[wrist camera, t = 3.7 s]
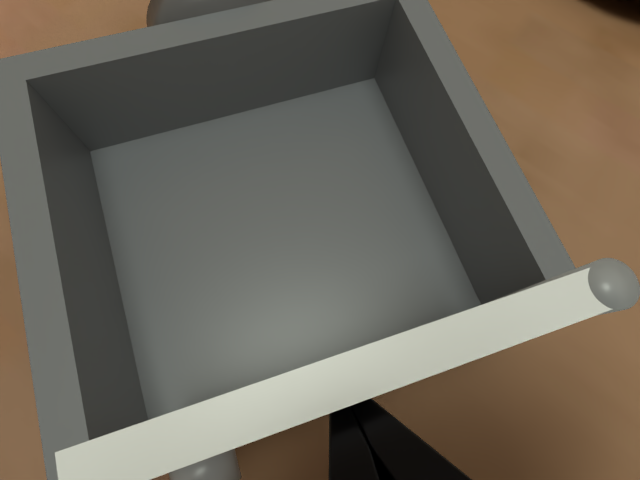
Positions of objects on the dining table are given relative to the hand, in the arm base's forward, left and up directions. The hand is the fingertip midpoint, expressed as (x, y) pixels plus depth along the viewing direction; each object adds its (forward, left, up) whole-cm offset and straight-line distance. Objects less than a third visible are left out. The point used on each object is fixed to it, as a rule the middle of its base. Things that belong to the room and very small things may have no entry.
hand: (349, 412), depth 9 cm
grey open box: (+8, -4, -9) cm, 13 cm away
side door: (0, -1, -8) cm, 8 cm away
